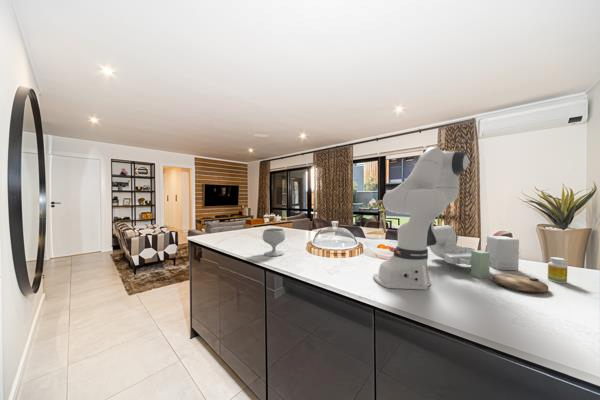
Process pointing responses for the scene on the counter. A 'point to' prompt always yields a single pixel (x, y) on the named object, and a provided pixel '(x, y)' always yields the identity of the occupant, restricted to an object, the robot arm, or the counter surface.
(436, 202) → the robot arm
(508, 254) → the supplement box
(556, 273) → the supplement bottle
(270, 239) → the chalice
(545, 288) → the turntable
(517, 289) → the base
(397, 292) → the counter surface
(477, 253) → the spindle block
